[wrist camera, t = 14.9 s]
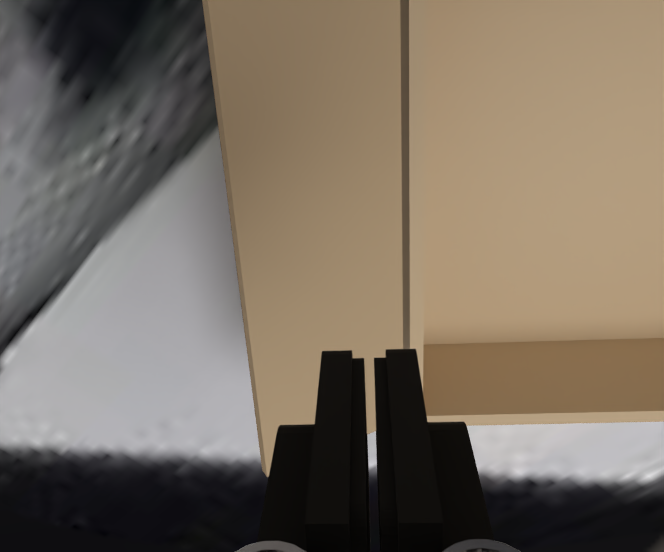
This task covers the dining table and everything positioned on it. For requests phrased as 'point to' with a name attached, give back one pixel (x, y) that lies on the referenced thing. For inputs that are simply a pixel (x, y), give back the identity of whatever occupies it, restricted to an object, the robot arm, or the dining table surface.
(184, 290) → the dining table surface
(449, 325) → the kraft box
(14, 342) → the dining table surface
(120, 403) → the dining table surface
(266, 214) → the flap
